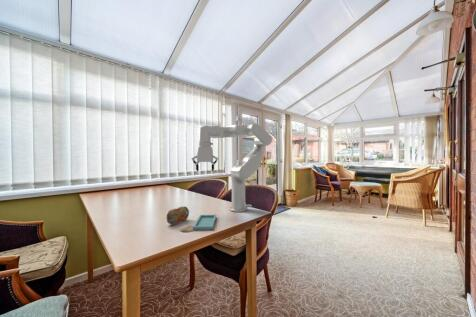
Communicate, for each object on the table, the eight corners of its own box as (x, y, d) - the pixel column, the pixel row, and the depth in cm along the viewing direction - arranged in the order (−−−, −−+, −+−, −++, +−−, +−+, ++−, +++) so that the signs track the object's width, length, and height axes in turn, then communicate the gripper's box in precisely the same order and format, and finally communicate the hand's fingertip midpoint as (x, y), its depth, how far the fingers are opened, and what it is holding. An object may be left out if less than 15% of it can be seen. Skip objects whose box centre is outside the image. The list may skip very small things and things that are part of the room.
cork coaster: (196, 226, 111) (196, 225, 111) (193, 232, 103) (193, 231, 103) (182, 226, 110) (182, 225, 110) (177, 232, 102) (177, 231, 102)
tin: (169, 226, 111) (169, 211, 110) (165, 225, 112) (165, 210, 112) (189, 219, 124) (189, 205, 123) (185, 218, 125) (185, 204, 125)
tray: (216, 217, 126) (216, 214, 126) (212, 230, 105) (212, 226, 105) (200, 217, 126) (199, 214, 126) (192, 230, 105) (192, 226, 105)
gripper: (218, 145, 138) (218, 170, 138) (192, 145, 138) (193, 170, 138) (217, 144, 130) (217, 171, 131) (190, 144, 130) (190, 171, 130)
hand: (205, 170), depth 134 cm, fingers open, 9 cm apart
